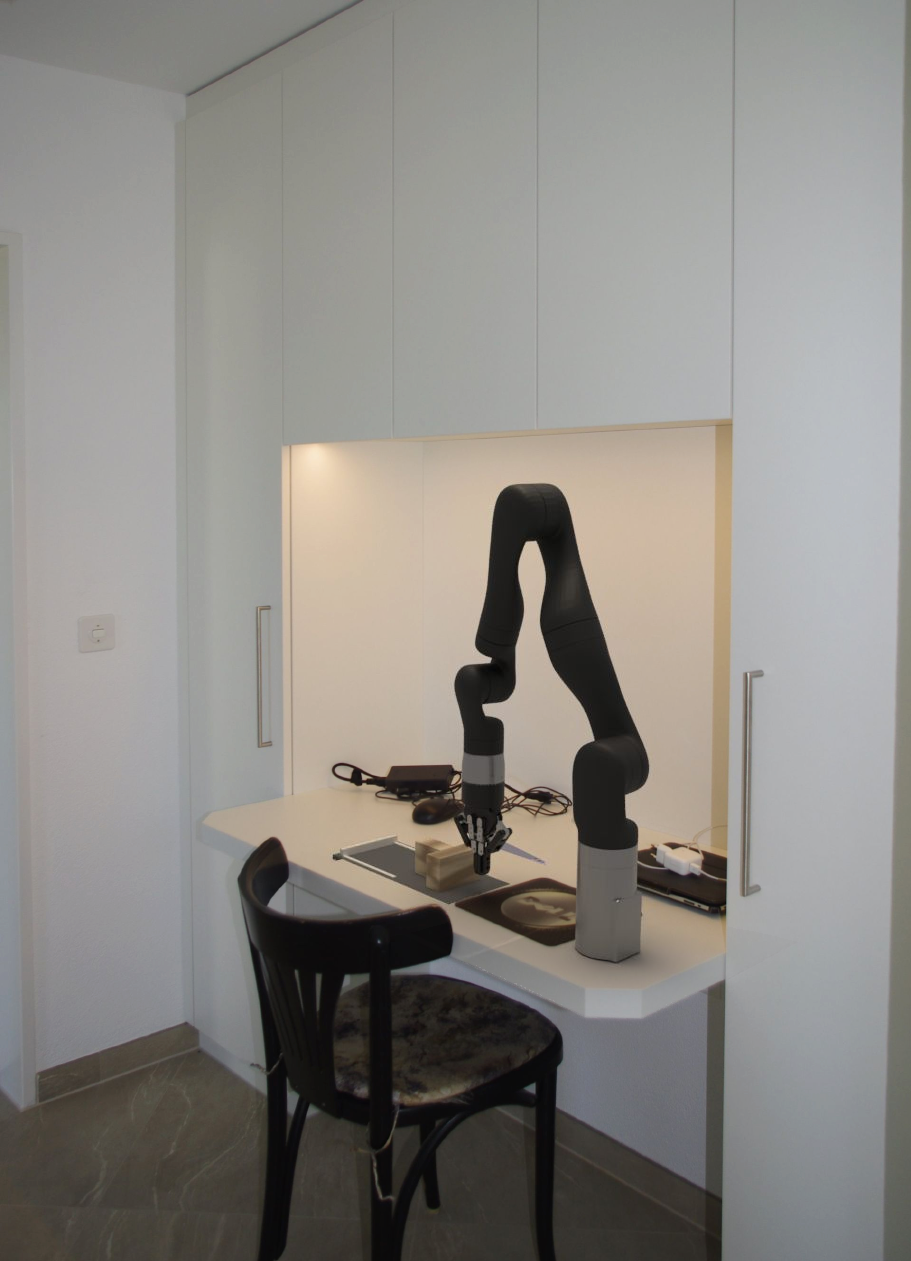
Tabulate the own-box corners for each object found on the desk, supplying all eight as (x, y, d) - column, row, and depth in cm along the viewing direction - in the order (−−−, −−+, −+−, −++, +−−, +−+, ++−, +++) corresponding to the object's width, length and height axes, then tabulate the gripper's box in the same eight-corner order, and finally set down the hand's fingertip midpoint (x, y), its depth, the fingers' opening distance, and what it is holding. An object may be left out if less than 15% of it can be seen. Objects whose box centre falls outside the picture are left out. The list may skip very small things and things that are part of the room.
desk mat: (509, 888, 180) (510, 875, 180) (448, 908, 170) (448, 895, 170) (392, 843, 205) (392, 832, 205) (332, 858, 195) (332, 847, 195)
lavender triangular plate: (505, 840, 206) (548, 861, 193) (505, 845, 206) (548, 866, 193) (474, 846, 202) (516, 868, 189) (474, 850, 202) (516, 873, 189)
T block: (479, 879, 183) (480, 847, 182) (439, 892, 176) (439, 859, 175) (441, 864, 190) (442, 834, 190) (401, 876, 183) (401, 844, 183)
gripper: (525, 781, 171) (523, 878, 172) (472, 766, 180) (471, 859, 182) (494, 788, 166) (492, 889, 167) (441, 773, 175) (440, 868, 177)
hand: (481, 873), depth 175 cm, fingers closed
